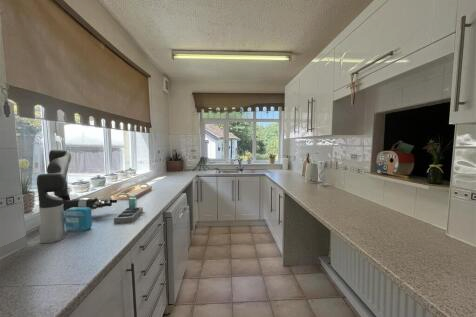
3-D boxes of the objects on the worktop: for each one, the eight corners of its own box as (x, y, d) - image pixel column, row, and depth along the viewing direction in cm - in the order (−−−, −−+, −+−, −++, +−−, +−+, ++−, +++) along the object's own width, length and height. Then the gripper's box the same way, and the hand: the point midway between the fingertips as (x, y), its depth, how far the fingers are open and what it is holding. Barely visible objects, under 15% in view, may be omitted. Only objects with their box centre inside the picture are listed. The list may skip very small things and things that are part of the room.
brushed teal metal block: (135, 213, 151) (134, 198, 151) (129, 213, 151) (128, 198, 150) (136, 211, 155) (136, 197, 154) (130, 211, 154) (130, 197, 154)
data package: (65, 230, 123) (64, 209, 122) (71, 227, 128) (70, 207, 127) (86, 230, 123) (85, 209, 122) (92, 227, 127) (91, 207, 127)
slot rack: (132, 222, 136) (132, 216, 135) (113, 223, 134) (113, 217, 134) (142, 211, 157) (142, 206, 157) (127, 212, 156) (126, 207, 156)
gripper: (82, 200, 141) (109, 199, 143) (93, 195, 155) (118, 194, 157) (82, 212, 142) (110, 211, 144) (94, 206, 156) (118, 205, 158)
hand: (114, 202), depth 151 cm, fingers open, 8 cm apart
